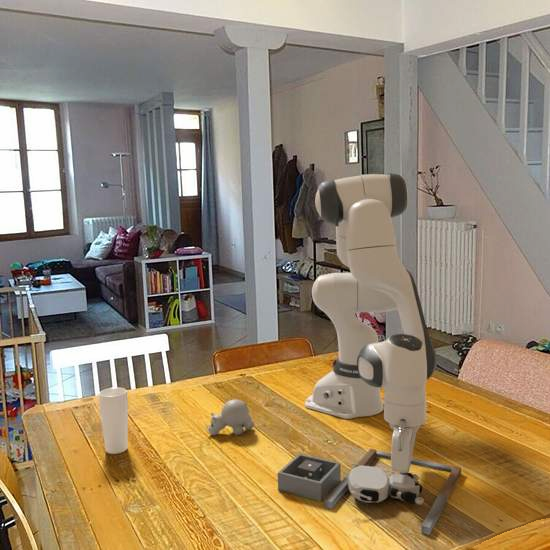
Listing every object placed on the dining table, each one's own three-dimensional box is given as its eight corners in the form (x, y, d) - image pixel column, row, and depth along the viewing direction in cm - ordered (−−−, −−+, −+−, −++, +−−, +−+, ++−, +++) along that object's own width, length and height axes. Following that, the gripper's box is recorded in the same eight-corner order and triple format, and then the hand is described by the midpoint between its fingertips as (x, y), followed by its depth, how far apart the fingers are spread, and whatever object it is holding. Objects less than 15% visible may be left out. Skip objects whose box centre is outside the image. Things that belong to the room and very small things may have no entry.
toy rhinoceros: (212, 438, 160) (199, 411, 158) (253, 418, 161) (240, 390, 159) (214, 449, 152) (200, 421, 151) (257, 428, 154) (244, 400, 152)
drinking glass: (136, 446, 150) (132, 388, 147) (120, 457, 143) (116, 398, 141) (112, 442, 152) (108, 386, 150) (96, 454, 146) (92, 395, 143)
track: (324, 507, 120) (324, 500, 119) (372, 452, 143) (372, 446, 143) (429, 535, 109) (429, 527, 109) (462, 471, 133) (462, 464, 133)
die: (297, 484, 128) (297, 467, 127) (306, 476, 131) (306, 459, 130) (314, 489, 126) (314, 471, 125) (322, 481, 129) (322, 463, 128)
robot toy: (418, 486, 128) (347, 478, 130) (419, 467, 128) (349, 459, 130) (424, 518, 116) (347, 509, 118) (426, 496, 116) (348, 488, 118)
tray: (278, 490, 127) (277, 472, 126) (299, 470, 135) (299, 453, 134) (321, 501, 122) (320, 483, 121) (340, 480, 130) (340, 462, 130)
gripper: (416, 432, 117) (415, 498, 119) (423, 396, 136) (422, 453, 138) (383, 429, 119) (383, 494, 121) (395, 394, 138) (394, 450, 140)
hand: (404, 472), depth 130 cm, fingers closed
